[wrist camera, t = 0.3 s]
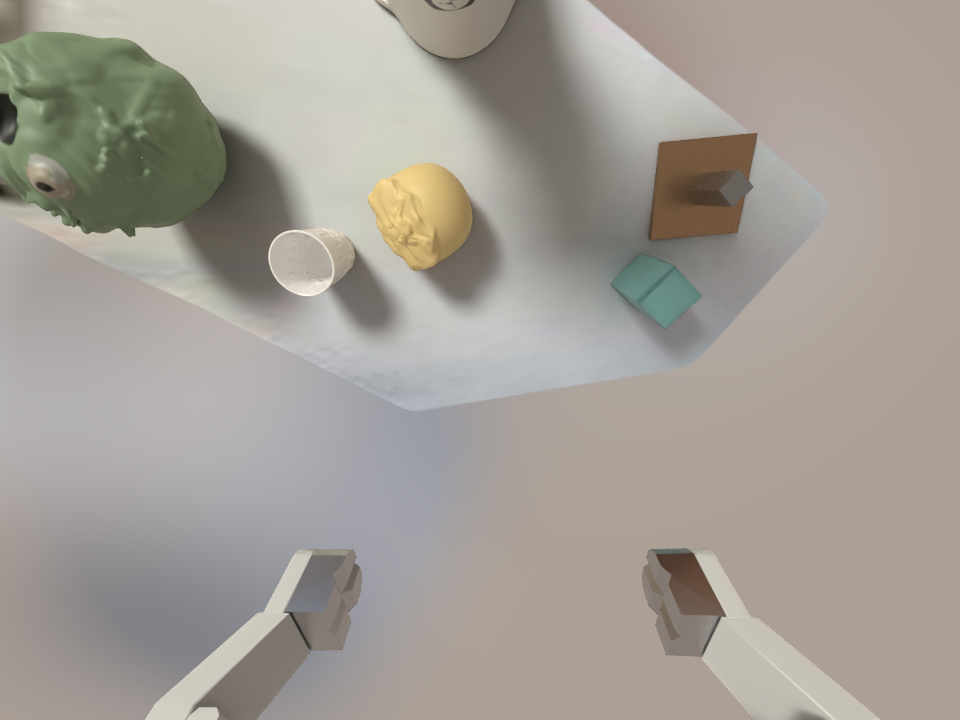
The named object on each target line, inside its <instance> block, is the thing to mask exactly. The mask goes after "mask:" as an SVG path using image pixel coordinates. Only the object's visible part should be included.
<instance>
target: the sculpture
mask: <svg viewBox="0 0 960 720" xmlns="http://www.w3.org/2000/svg"><path fill="white" fill-rule="evenodd" d="M368 202H369V204H370V207H371V208H372V210H373V212H374V213H375V214H376V221H377V227H378V229H379V230H380V232H381V234H382V235H383V238H384V241H385V242H386V243H387V244H388V245H389V246H390V247H391V249H392V251H393V252H394V253H395V254H397V255H398V256H400V257H402V258H403V259H404V260H405V262H406V264H407V265H408V266H409V267H410V269H411V270H413V271H419V270H421V269H428V268H432V267H434V266H435V265H436V264H437V263H438V262H440V261H442V260H443V259H445V258H446V257H448V256H449V255H451V254H452V253H454V252H455V251H456V250H457V249H459V248H460V247H461V245H462V244H463V243H464V242H465V240H466V239H467V237H468V235H469V233H470V230H471V227H472V219H473V216H472V207H471V203H470V200H469V197H468V195H467V192H466V190H465V189H464V187H463V185H462V184H461V182H460V181H459V180H458V179H457V178H456V177H455V176H454V175H453V174H452V173H451V172H450V171H449V170H447V169H445V168H444V167H442V166H439V165H436V164H431V163H421V164H416V165H412V166H410V167H407V168H405V169H404V170H402V171H400V172H398V173H396V174H394V175H393V176H391V177H390V178H389V179H388V178H384V179H382V180H380V181H379V182H378V183H377V185H376V186H375V188H374V189H373V192H372V193H371V194H370V195H369V197H368Z"/></svg>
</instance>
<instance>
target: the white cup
mask: <svg viewBox="0 0 960 720" xmlns="http://www.w3.org/2000/svg"><path fill="white" fill-rule="evenodd" d="M268 259H269V265H270V268H271V271H272V273H273V275H274V277H275V278H276V280H277V281H278V282H279V283H280V284H281V285H282V286H283V287H284V288H285V289H287V290H288V291H290V292H292V293H294V294H297V295H300V296H307V297H310V296H316V295H319V294H321V293H323V292H325V291H326V290H327V289H328V288H330V287H331V286H332V285H334V284H335V283H336V282H338V281H339V280H340V279H341V278H342V277H343V276H344V275H345V274H346V273H347V272H348V271H349V270H350V269H351V268H352V267H353V264H354V260H355V252H354V247H353V245H352V244H351V242H350V241H349V239H348V238H347V236H345V235H344V234H342V233H341V232H339V231H338V230H333V229H327V228H325V229H302V230H291V231H286V232H284V233H282V234H280V235H278V236H277V237H276V238H275V239H274V240H273V242H272V244H271V246H270V249H269V254H268Z"/></svg>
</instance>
